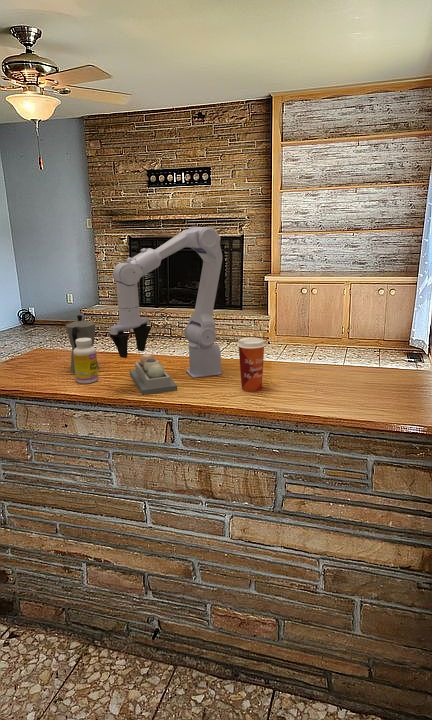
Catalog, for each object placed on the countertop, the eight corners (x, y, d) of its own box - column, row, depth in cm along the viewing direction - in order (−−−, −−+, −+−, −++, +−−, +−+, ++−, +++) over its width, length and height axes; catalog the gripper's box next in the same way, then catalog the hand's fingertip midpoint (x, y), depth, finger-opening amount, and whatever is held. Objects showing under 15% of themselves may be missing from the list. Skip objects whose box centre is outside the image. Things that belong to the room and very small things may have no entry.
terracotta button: (153, 362, 159) (152, 352, 158) (156, 366, 155) (155, 356, 154) (139, 364, 158) (138, 354, 157) (141, 368, 154) (141, 357, 153)
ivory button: (157, 367, 154) (156, 357, 153) (160, 371, 150) (160, 361, 149) (142, 369, 153) (142, 359, 152) (145, 373, 149) (145, 363, 148)
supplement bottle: (93, 384, 152) (88, 342, 148) (72, 383, 153) (67, 342, 149) (102, 377, 158) (98, 337, 154) (82, 376, 159) (78, 336, 156)
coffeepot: (75, 364, 173) (69, 311, 168) (103, 363, 173) (98, 310, 168) (63, 378, 158) (56, 321, 153) (93, 377, 158) (88, 320, 153)
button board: (161, 370, 163) (160, 358, 162) (177, 390, 145) (176, 377, 144) (129, 374, 160) (129, 362, 159) (142, 395, 142) (141, 381, 140)
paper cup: (247, 394, 140) (246, 345, 136) (233, 386, 146) (232, 339, 142) (271, 389, 143) (271, 341, 139) (256, 382, 150) (256, 335, 146)
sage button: (162, 373, 148) (161, 362, 148) (165, 377, 144) (164, 366, 144) (147, 375, 147) (146, 364, 146) (150, 379, 143) (149, 368, 142)
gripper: (134, 301, 150) (138, 346, 154) (99, 310, 138) (104, 358, 142) (153, 303, 147) (156, 349, 150) (119, 312, 135) (123, 361, 139)
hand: (132, 354), depth 146 cm, fingers open, 7 cm apart
